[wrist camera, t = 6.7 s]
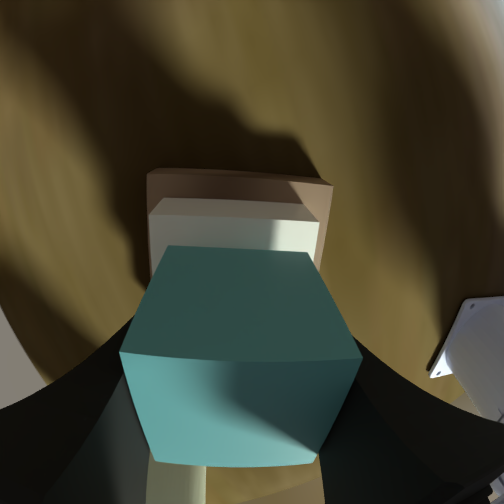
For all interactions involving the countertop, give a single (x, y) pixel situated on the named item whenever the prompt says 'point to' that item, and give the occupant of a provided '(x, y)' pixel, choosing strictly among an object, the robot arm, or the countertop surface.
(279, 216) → the white block
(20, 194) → the countertop surface
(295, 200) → the walnut slab
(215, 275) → the teal block
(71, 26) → the countertop surface
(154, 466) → the can
